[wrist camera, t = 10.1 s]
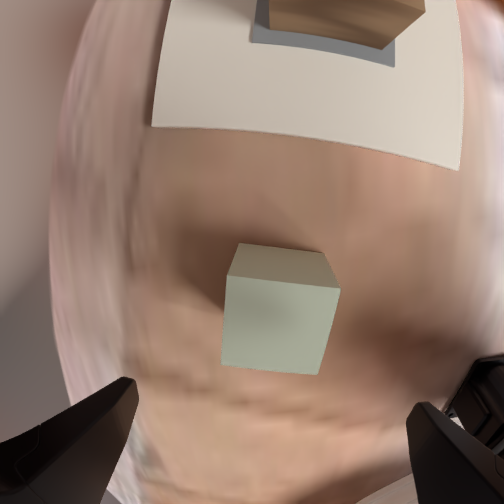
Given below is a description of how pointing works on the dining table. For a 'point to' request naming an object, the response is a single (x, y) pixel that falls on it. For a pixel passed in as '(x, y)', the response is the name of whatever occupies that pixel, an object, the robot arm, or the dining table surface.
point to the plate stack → (394, 493)
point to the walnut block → (346, 19)
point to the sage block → (278, 309)
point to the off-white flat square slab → (314, 81)
